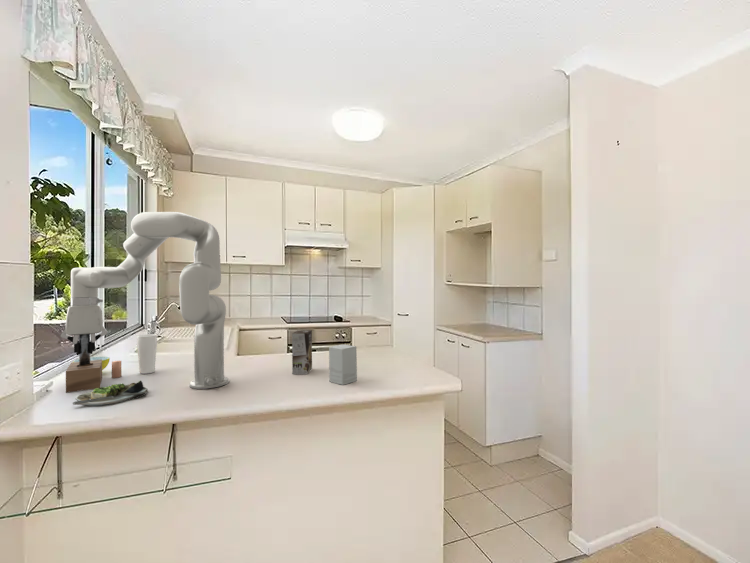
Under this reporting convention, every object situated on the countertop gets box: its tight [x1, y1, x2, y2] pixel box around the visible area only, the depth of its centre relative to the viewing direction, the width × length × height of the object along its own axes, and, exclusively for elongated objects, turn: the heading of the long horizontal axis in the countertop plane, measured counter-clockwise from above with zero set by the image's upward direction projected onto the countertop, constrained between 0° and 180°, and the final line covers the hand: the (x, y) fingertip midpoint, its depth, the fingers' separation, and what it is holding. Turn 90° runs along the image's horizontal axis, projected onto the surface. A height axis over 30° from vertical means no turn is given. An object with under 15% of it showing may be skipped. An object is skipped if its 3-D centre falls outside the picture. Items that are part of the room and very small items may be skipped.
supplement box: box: [328, 344, 358, 386], centre depth 130 cm, size 7×7×13 cm
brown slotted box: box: [65, 359, 103, 393], centre depth 128 cm, size 16×9×7 cm, turn 35°
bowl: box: [72, 356, 111, 371], centre depth 141 cm, size 11×12×6 cm
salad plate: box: [72, 380, 149, 407], centre depth 112 cm, size 19×18×5 cm
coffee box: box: [291, 329, 313, 375], centre depth 144 cm, size 9×6×16 cm
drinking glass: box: [136, 333, 158, 375], centre depth 144 cm, size 7×7×15 cm
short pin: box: [111, 360, 122, 379], centre depth 138 cm, size 3×3×6 cm
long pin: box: [78, 334, 91, 365], centre depth 128 cm, size 3×3×12 cm
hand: (84, 353), depth 128 cm, fingers closed on long pin, 3 cm apart
